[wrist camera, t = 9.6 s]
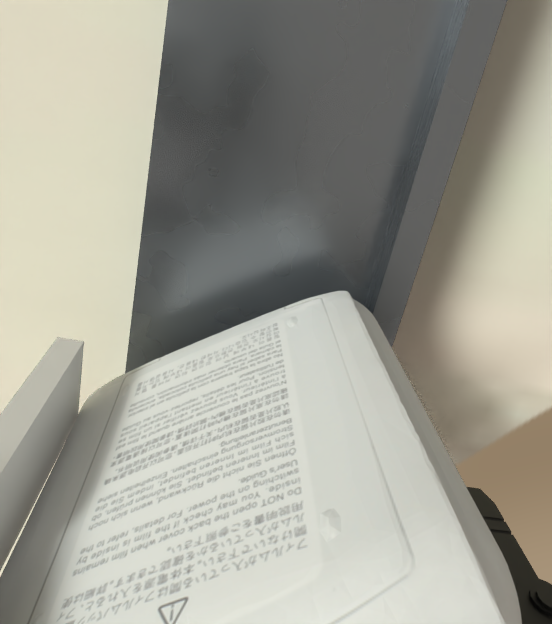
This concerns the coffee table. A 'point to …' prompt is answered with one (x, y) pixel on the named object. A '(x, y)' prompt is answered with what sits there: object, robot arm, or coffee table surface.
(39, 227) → the coffee table surface
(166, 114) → the rail
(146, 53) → the coffee table surface
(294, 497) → the photo printer
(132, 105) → the coffee table surface
